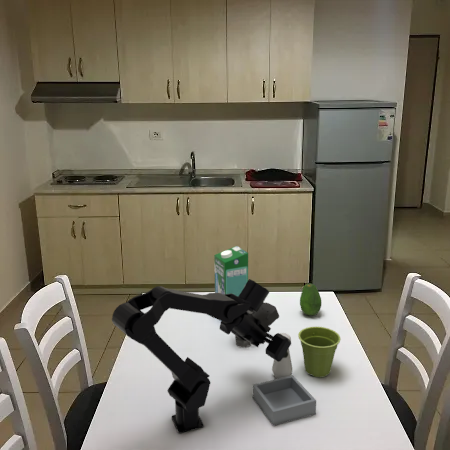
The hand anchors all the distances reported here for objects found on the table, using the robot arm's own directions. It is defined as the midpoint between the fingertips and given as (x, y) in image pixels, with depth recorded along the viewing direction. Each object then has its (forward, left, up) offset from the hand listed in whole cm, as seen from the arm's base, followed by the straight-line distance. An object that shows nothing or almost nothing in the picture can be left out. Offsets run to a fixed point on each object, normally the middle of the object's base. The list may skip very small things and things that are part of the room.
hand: (275, 348), depth 133 cm
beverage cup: (+22, 0, -10) cm, 24 cm away
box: (-11, +3, -10) cm, 15 cm away
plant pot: (-1, -14, -10) cm, 17 cm away
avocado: (+32, -31, -10) cm, 45 cm away
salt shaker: (+1, -3, -10) cm, 10 cm away
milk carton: (+42, -4, -10) cm, 43 cm away
